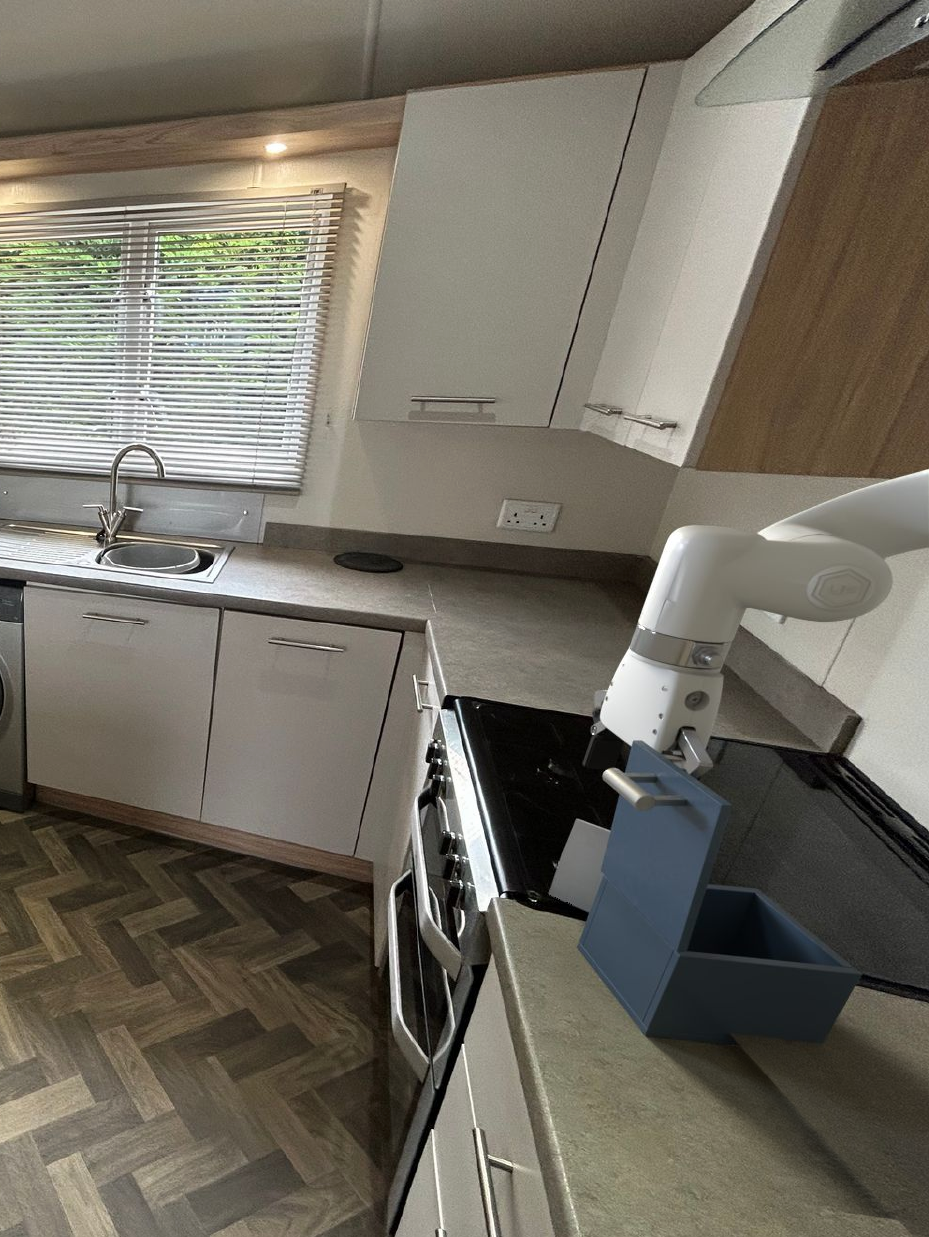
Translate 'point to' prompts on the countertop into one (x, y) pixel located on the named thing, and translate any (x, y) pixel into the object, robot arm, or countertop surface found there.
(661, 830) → the bin lid
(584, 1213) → the countertop surface
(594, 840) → the grey rectangular block
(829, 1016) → the waste bin
